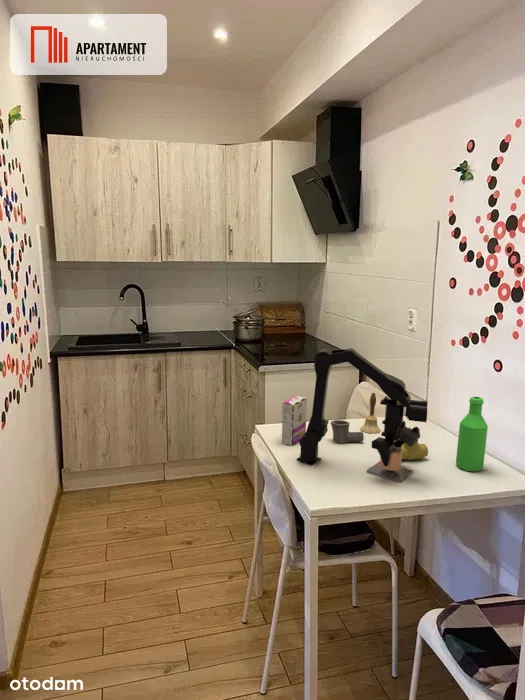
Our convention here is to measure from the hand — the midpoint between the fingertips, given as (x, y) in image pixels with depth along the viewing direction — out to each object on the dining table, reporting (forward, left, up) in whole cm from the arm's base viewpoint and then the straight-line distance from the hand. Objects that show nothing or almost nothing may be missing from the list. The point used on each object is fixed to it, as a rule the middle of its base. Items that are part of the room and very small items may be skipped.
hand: (390, 462), depth 172 cm
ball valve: (+17, +1, -4) cm, 17 cm away
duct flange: (0, 0, -4) cm, 4 cm away
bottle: (+23, -19, -4) cm, 30 cm away
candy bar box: (+3, +41, -4) cm, 41 cm away
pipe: (+15, +25, -4) cm, 30 cm away
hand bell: (+34, +24, -4) cm, 41 cm away
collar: (0, 0, -1) cm, 1 cm away
